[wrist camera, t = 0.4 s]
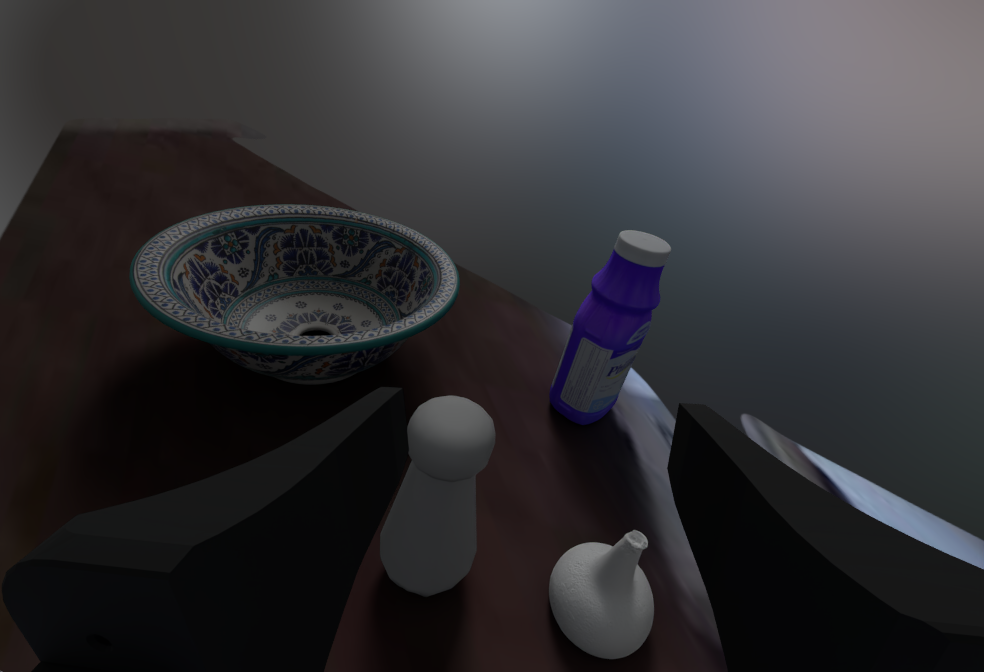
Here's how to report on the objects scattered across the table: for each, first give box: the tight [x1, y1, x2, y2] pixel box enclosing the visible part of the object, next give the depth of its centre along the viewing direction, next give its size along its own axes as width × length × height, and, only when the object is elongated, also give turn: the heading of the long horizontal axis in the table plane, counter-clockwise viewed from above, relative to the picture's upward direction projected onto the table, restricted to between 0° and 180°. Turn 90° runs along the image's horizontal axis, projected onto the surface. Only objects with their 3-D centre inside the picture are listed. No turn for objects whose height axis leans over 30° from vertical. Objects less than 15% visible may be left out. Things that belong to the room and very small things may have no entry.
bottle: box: [550, 230, 671, 425], centre depth 40 cm, size 7×6×17 cm
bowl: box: [130, 204, 459, 385], centre depth 41 cm, size 25×25×10 cm
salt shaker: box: [380, 396, 495, 597], centre depth 25 cm, size 6×6×13 cm
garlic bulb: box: [549, 530, 654, 659], centre depth 27 cm, size 6×6×8 cm
